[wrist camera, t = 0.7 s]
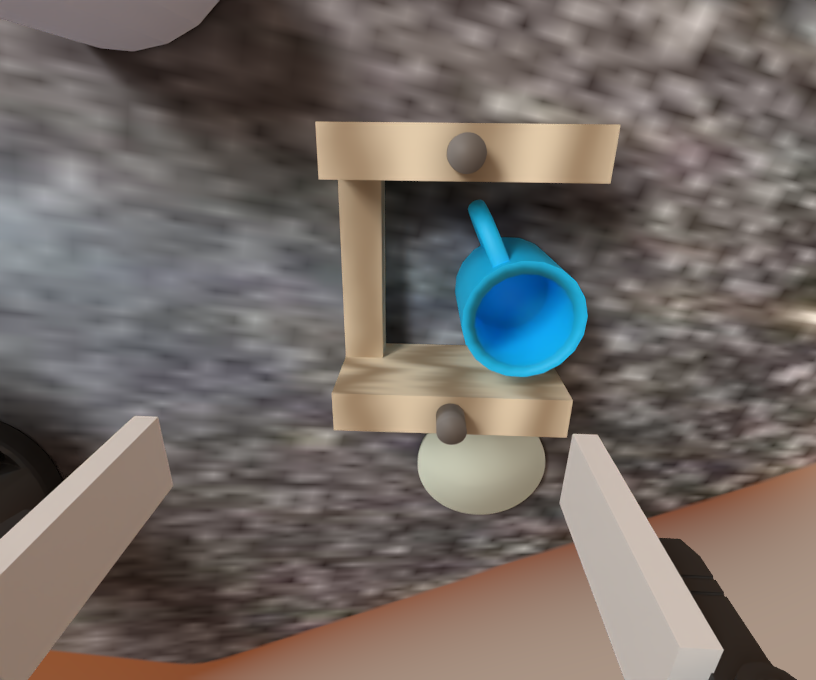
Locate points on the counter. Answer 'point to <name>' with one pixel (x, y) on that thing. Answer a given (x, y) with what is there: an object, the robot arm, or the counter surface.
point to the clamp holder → (366, 286)
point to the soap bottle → (110, 20)
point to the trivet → (481, 471)
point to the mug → (516, 303)
